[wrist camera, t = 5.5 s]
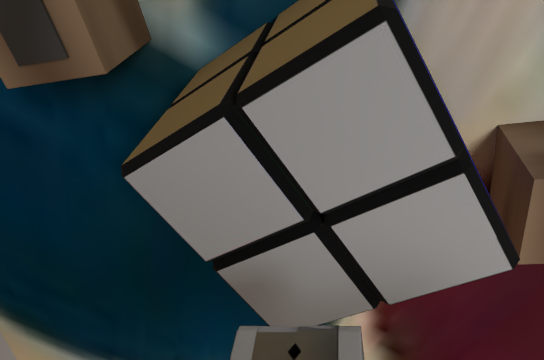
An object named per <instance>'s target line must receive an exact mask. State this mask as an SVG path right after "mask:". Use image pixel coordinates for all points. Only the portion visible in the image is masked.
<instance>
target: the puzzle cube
mask: <svg viewBox="0 0 544 360" xmlns="http://www.w3.org/2000/svg"><path fill="white" fill-rule="evenodd" d="M121 170H122V177H123V178H124V179H125V180H126V181H127V182H128V183H129V184H130V185H131V186H132V187H133V188H134V189H135V190H136V191H137V192H138V193H139V194H140V195H141V196H142V197H143V198H144V199H145V200H146V201H147V202H148V203H149V205H150V206H151V207H152V208H153V209H154V210H155V211H156V212H157V213H158V214H159V215H160V216H161V217H162V218H163V219H164V220H165V221H166V222H167V223H168V224H169V225H170V226H171V227H172V228H173V229H174V230H175V231H176V232H177V233H178V234H179V235H180V236H181V237H182V238H183V239H184V240H185V241H186V242H187V243H188V244H189V245H190V246H191V247H192V248H193V249H194V250H195V251H196V252H197V254H198V255H199V256H200V257H201V258H202V259H204V260H205V261H213V267H212V268H213V269H214V270H215V271H216V272H217V273H218V274H219V275H220V276H221V277H222V278H223V279H224V280H225V281H226V282H227V284H228V285H229V286H230V287H231V288H232V289H233V290H234V291H235V292H236V293H237V294H238V295H239V296H240V297H241V298H242V299H243V300H244V301H245V302H246V303H247V304H248V305H249V306H250V307H251V308H252V309H253V310H254V311H255V312H256V313H257V314H258V315H259V316H260V317H261V318H262V319H263V320H264V321H265V322H266V323H267V324H268V325H269V326H277V327H299V326H317V325H320V324H324V323H327V322H331V321H334V320H338V319H341V318H345V317H348V316H352V315H355V314H359V313H362V312H365V311H369V310H372V309H375V308H377V306H378V304H379V302H380V301H383V302H385V303H387V304H389V305H391V304H394V303H398V302H401V301H405V300H408V299H412V298H415V297H419V296H422V295H426V294H429V293H433V292H436V291H440V290H443V289H447V288H450V287H454V286H457V285H461V284H464V283H467V282H471V281H474V280H478V279H481V278H485V277H488V276H492V275H495V274H499V273H502V272H506V271H509V270H513V269H514V268H515V266H516V265H517V263H518V262H519V260H520V258H519V256H518V254H517V252H516V249H515V247H514V245H513V243H512V241H511V239H510V237H509V235H508V233H507V231H506V229H505V227H504V225H503V223H502V220H501V218H500V216H499V214H498V212H497V210H496V208H495V206H494V204H493V202H492V200H491V198H490V196H489V194H488V191H487V189H486V187H485V185H484V183H483V181H482V179H481V177H480V175H479V173H478V170H477V168H476V166H475V164H474V162H473V160H472V158H471V156H470V154H469V152H468V150H467V148H466V146H465V144H464V141H463V139H462V137H461V135H460V133H459V131H458V129H457V127H456V125H455V123H454V121H453V119H452V117H451V115H450V113H449V111H448V109H447V107H446V105H445V103H444V101H443V99H442V97H441V95H440V93H439V91H438V88H437V86H436V84H435V82H434V80H433V78H432V76H431V74H430V72H429V70H428V68H427V66H426V64H425V62H424V60H423V58H422V56H421V54H420V52H419V50H418V48H417V46H416V44H415V42H414V40H413V38H412V36H411V34H410V32H409V30H408V28H407V26H406V24H405V22H404V20H403V18H402V16H401V14H400V12H399V9H398V7H397V5H396V3H395V1H394V0H299V1H297V2H296V3H294V4H293V5H292V6H290V7H289V8H287V9H286V10H284V11H283V12H282V13H280V14H279V15H278V17H277V19H276V21H275V23H274V24H272V23H268V22H267V23H266V24H264V25H263V26H261V27H260V28H258V29H257V30H256V31H254V32H253V33H251V34H250V35H248V36H247V37H246V38H244V39H243V40H241V41H240V42H238V43H237V44H236V45H234V46H233V47H231V48H230V49H228V50H227V51H226V52H224V53H223V54H221V55H220V56H218V57H217V58H215V59H214V60H213V61H211V62H210V63H208V64H207V65H205V66H204V67H203V68H201V69H200V70H199V71H198V72H197V74H196V75H195V76H194V77H193V78H192V80H191V81H190V82H189V83H188V85H187V86H186V87H185V88H184V90H183V91H182V92H181V93H180V95H179V96H178V97H177V98H176V100H175V101H174V102H173V103H172V107H171V108H170V109H168V110H167V111H166V112H165V113H164V115H163V116H162V117H161V118H160V119H159V121H158V122H157V123H156V124H155V125H154V127H153V128H152V129H151V130H150V131H149V133H148V134H147V135H146V136H145V138H144V139H143V140H142V141H141V142H140V144H139V145H138V146H137V147H136V148H135V150H134V151H133V152H132V153H131V154H130V156H129V157H128V158H127V159H126V160H125V162H124V163H123V164H122V165H121Z"/></svg>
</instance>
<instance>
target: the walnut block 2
mask: <svg viewBox="0 0 544 360" xmlns="http://www.w3.org/2000/svg"><path fill="white" fill-rule="evenodd" d="M490 198H491V200H492V202H493V204H494V206H495V208H496V210H497V212H498V214H499V216H500V218H501V220H502V223H503V225H504V227H505V229H506V231H507V233H508V235H509V237H510V239H511V241H512V243H513V245H514V247H515V249H516V252H517V254H518V256H519V258H520V260H519V262H518V264H544V121H535V122H525V123H515V124H504V125H498V131H497V139H496V147H495V155H494V164H493V172H492V180H491V188H490Z"/></svg>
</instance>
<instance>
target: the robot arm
mask: <svg viewBox="0 0 544 360" xmlns="http://www.w3.org/2000/svg"><path fill="white" fill-rule="evenodd" d="M230 360H364V352H363V342H362V333H361V326H299V327H277V326H240V327H239V329H238V331H237V333H236V337H235V341H234V345H233V349H232V353H231V357H230Z"/></svg>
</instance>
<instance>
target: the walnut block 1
mask: <svg viewBox="0 0 544 360" xmlns="http://www.w3.org/2000/svg"><path fill="white" fill-rule="evenodd" d="M150 40H151V37H150V34H149V31H148V28H147V25H146V23H145V20H144V17H143V14H142V11H141V8H140V5H139V2H138V0H0V77H1V79H2V81H3V82H4V84H5V86H6V87H7V89H10V88H17V87H23V86H30V85H36V84H43V83H49V82H56V81H62V80H69V79H75V78H82V77H89V76H95V75H102V74H107V73H108V72H109V71H110V70H112V69H113V68H114V67H116V66H117V65H118V64H120V63H121V62H122V61H124V60H125V59H126V58H128V57H129V56H130V55H132V54H133V53H134V52H135V51H137V50H138V49H139V48H141V47H142V46H143V45H145V44H146V43H147V42H149V41H150Z"/></svg>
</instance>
